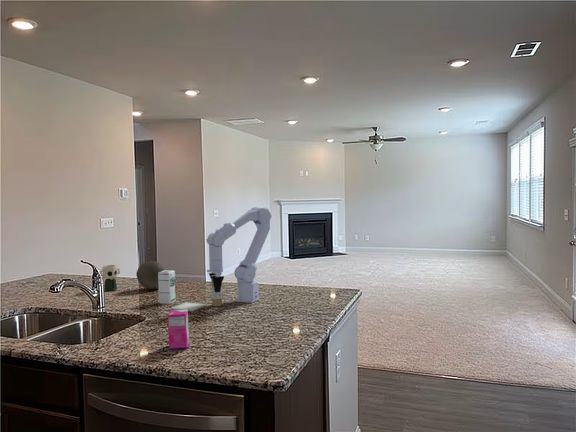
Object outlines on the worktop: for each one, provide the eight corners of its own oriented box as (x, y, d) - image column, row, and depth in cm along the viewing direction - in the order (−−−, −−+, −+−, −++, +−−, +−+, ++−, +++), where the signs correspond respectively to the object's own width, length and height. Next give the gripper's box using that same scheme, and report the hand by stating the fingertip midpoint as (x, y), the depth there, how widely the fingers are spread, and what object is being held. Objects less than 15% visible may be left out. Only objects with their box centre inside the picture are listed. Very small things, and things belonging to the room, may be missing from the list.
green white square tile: (206, 305, 200) (206, 303, 200) (192, 311, 189) (192, 309, 189) (185, 303, 204) (185, 302, 204) (170, 309, 193) (170, 307, 193)
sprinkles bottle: (217, 303, 203) (217, 274, 202) (224, 305, 199) (223, 275, 199) (209, 305, 199) (208, 275, 199) (216, 307, 196) (215, 276, 195)
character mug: (104, 293, 229) (103, 267, 229) (97, 291, 234) (96, 266, 234) (123, 289, 238) (122, 265, 237) (116, 287, 242) (116, 263, 242)
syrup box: (170, 303, 203) (169, 272, 203) (158, 303, 205) (157, 271, 204) (176, 301, 209) (175, 270, 208) (164, 300, 210) (163, 269, 209)
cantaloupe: (144, 286, 244) (144, 259, 243) (169, 287, 242) (168, 259, 241) (132, 292, 230) (131, 263, 229) (158, 292, 228) (157, 263, 227)
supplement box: (171, 344, 147) (170, 309, 147) (189, 343, 148) (188, 309, 147) (168, 350, 142) (167, 314, 141) (187, 349, 142) (186, 313, 142)
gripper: (205, 258, 204) (205, 287, 205) (208, 262, 190) (209, 294, 191) (220, 257, 206) (221, 286, 207) (225, 261, 192) (225, 293, 193)
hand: (216, 290), depth 199 cm, fingers open, 7 cm apart
